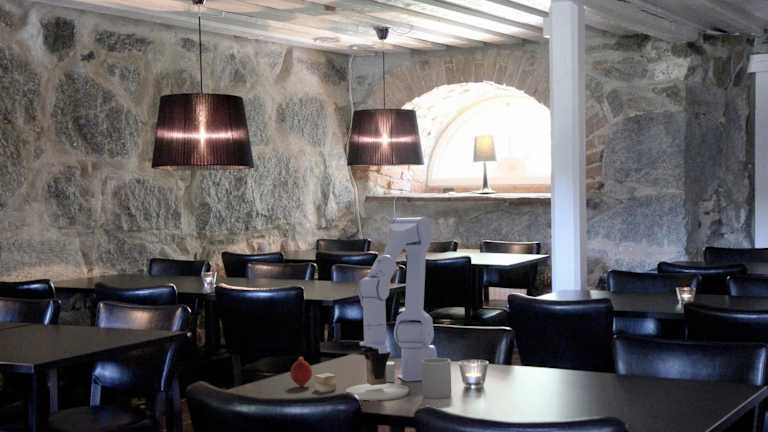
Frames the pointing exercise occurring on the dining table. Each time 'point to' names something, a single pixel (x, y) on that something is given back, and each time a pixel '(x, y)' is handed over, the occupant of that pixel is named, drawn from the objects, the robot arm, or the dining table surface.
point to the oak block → (325, 382)
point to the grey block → (390, 372)
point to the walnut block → (370, 375)
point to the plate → (379, 391)
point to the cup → (436, 378)
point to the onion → (301, 372)
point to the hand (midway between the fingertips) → (376, 377)
